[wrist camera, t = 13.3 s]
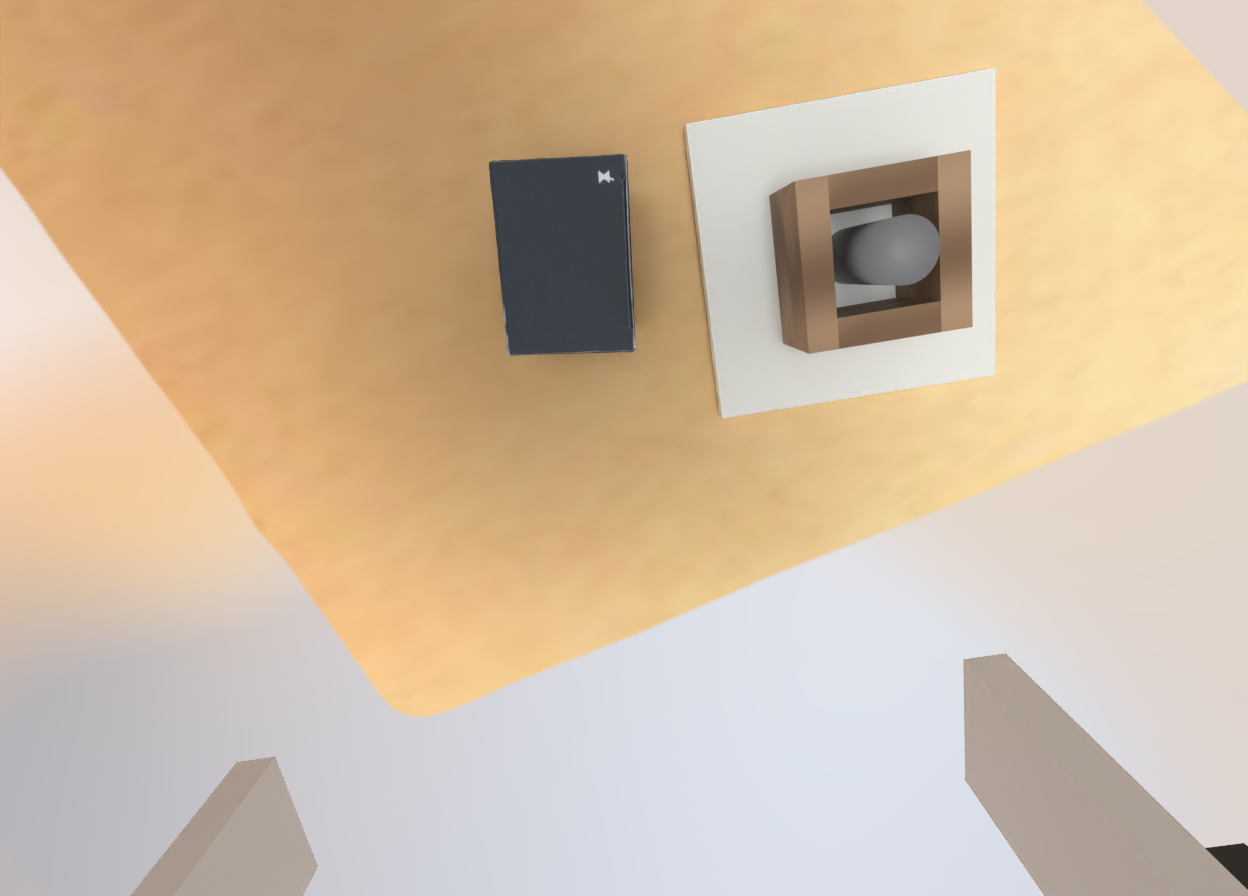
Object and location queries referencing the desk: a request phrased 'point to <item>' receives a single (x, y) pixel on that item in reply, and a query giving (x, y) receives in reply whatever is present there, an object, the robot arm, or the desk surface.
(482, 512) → the desk surface
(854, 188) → the collar
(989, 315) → the thin white baseboard
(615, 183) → the box
